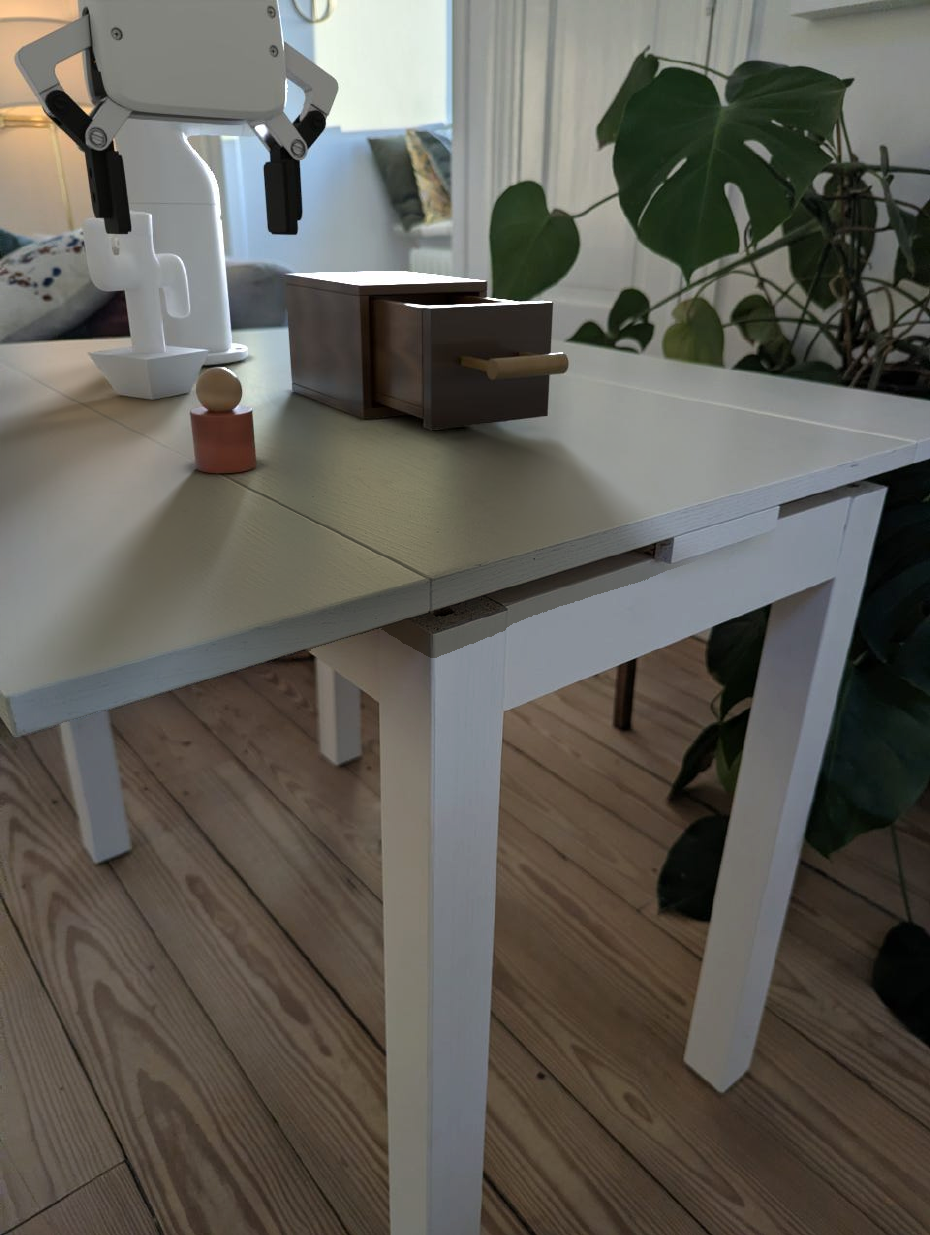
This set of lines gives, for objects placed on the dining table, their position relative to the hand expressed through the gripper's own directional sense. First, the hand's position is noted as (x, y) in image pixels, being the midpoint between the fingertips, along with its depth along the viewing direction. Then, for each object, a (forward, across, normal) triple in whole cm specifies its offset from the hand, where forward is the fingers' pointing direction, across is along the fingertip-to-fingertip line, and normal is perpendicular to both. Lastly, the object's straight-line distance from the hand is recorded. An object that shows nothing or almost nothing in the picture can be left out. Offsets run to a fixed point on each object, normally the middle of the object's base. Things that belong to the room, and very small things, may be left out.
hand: (204, 234), depth 53 cm
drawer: (+13, -20, -4) cm, 24 cm away
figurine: (+14, -3, -28) cm, 32 cm away
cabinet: (+14, -20, -16) cm, 29 cm away
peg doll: (+14, 0, 0) cm, 14 cm away
